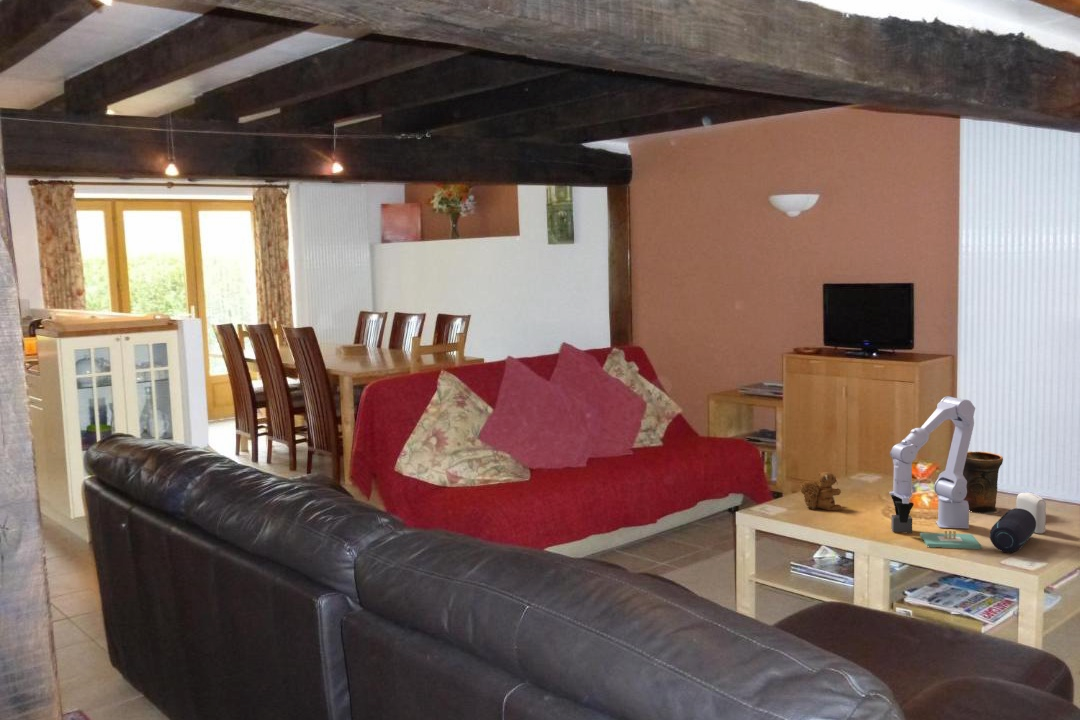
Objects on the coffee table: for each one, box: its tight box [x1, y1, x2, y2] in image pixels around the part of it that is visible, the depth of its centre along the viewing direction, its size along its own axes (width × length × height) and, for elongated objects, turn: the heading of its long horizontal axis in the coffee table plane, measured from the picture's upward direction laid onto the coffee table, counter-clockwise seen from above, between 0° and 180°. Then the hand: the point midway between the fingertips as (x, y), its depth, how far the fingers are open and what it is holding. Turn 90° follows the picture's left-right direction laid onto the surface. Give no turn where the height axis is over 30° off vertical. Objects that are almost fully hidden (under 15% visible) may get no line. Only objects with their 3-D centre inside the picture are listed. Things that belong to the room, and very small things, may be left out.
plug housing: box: [890, 514, 913, 534], centre depth 318 cm, size 6×4×5 cm, turn 78°
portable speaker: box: [989, 507, 1036, 554], centre depth 300 cm, size 25×10×10 cm, turn 142°
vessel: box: [963, 451, 1004, 515], centre depth 342 cm, size 14×14×20 cm
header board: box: [919, 530, 982, 550], centre depth 305 cm, size 16×12×4 cm
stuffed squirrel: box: [800, 471, 843, 511], centre depth 349 cm, size 10×14×13 cm
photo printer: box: [1015, 492, 1047, 534], centre depth 316 cm, size 10×4×12 cm, turn 14°
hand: (901, 519), depth 318 cm, fingers open, 7 cm apart
